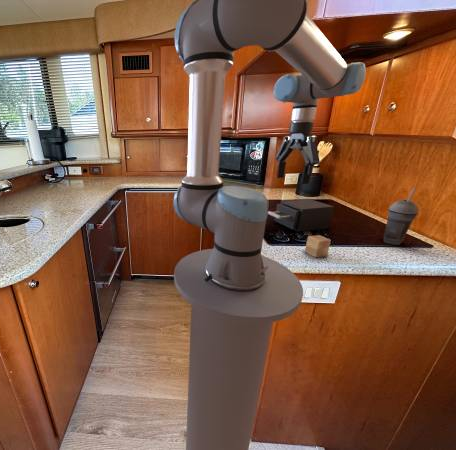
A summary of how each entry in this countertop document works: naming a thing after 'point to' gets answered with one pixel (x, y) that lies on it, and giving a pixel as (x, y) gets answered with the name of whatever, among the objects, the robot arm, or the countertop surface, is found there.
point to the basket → (286, 216)
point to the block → (317, 246)
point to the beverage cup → (399, 220)
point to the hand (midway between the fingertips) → (291, 180)
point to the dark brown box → (311, 214)
